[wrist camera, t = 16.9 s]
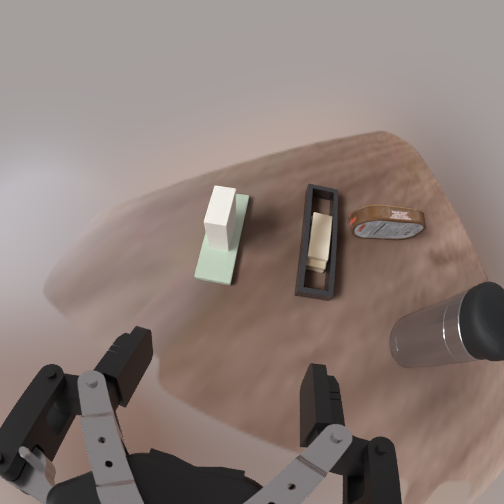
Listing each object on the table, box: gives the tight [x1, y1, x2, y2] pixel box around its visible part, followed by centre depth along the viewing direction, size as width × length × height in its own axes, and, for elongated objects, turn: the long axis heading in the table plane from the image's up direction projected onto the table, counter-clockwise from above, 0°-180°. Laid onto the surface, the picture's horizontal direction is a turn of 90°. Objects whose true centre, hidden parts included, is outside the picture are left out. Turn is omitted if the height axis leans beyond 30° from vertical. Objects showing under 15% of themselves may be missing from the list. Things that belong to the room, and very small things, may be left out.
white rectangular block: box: [204, 186, 236, 252], centre depth 41 cm, size 3×6×8 cm, turn 169°
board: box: [194, 194, 249, 285], centre depth 45 cm, size 6×16×1 cm, turn 170°
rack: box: [295, 184, 338, 301], centre depth 45 cm, size 6×20×2 cm, turn 170°
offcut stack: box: [306, 212, 332, 273], centre depth 45 cm, size 3×10×3 cm, turn 168°
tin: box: [348, 205, 426, 240], centre depth 43 cm, size 15×3×8 cm, turn 90°
